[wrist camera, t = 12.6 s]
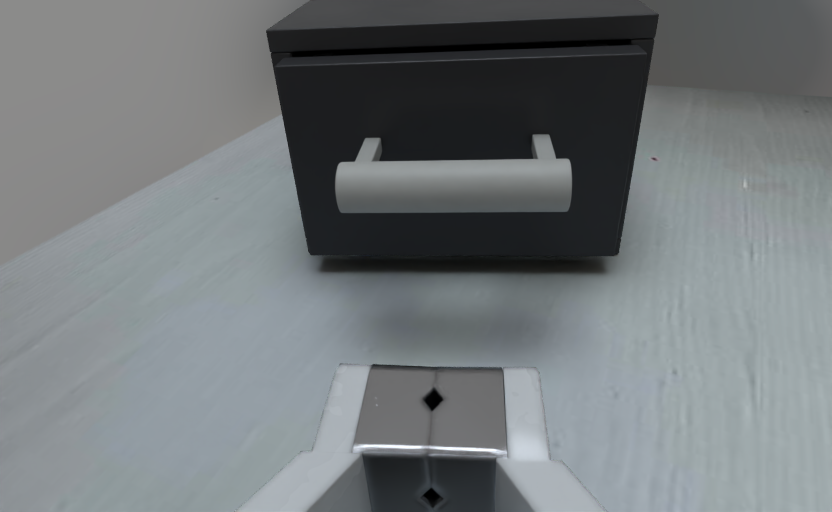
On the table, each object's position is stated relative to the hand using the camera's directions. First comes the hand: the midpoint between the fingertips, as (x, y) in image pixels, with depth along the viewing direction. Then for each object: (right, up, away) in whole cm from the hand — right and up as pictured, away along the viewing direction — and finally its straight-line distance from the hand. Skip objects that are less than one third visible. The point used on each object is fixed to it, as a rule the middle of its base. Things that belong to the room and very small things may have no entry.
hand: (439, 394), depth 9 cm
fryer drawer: (+2, +5, +18) cm, 19 cm away
